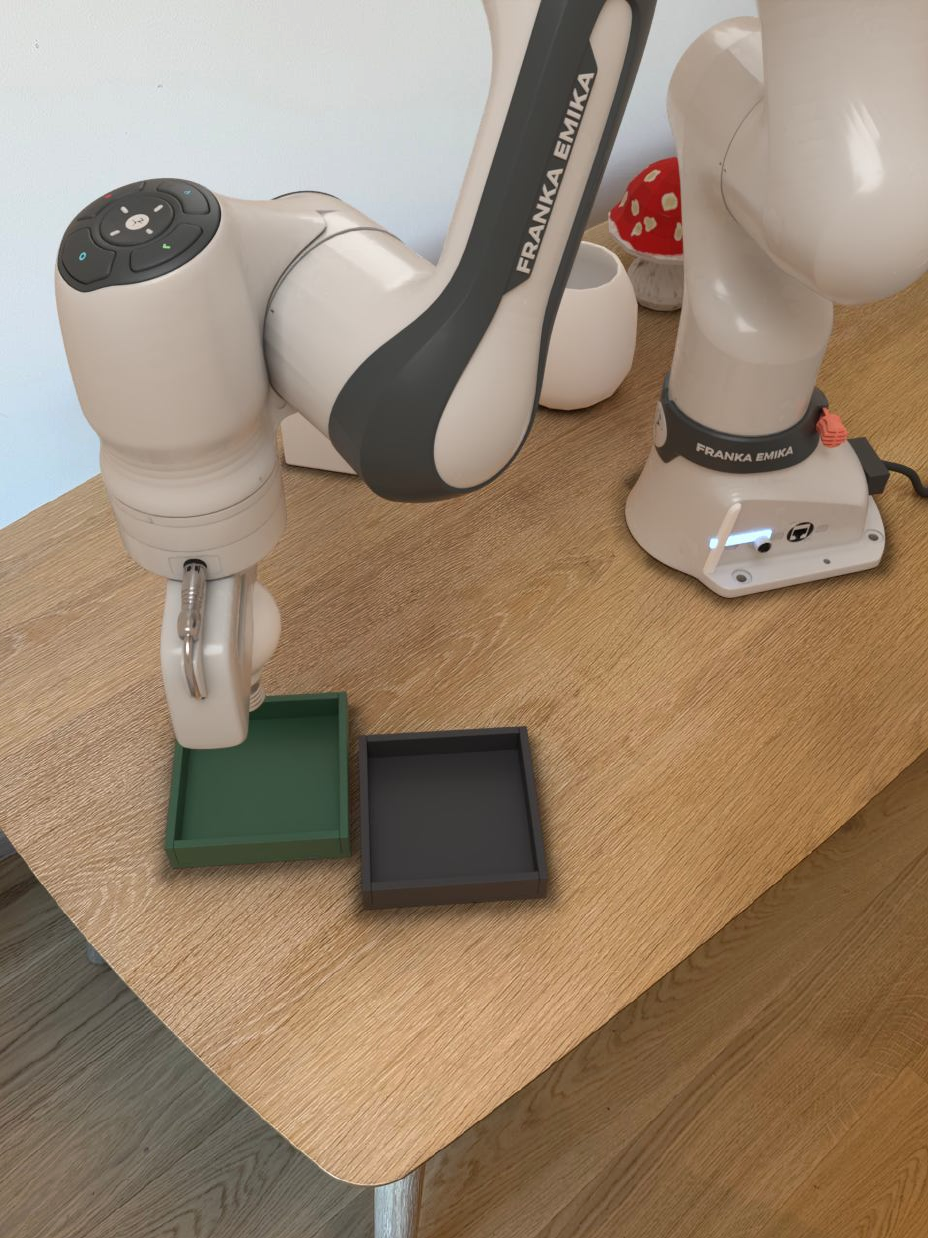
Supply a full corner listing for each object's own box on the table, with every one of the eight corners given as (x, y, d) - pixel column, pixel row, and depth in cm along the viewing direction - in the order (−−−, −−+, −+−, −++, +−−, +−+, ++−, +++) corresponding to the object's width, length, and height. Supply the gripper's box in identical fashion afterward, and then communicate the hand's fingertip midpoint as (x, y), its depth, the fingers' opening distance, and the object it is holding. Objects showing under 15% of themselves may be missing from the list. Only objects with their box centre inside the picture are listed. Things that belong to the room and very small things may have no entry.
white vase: (655, 382, 111) (676, 262, 100) (574, 445, 104) (588, 324, 94) (552, 329, 116) (563, 210, 106) (469, 386, 110) (472, 265, 99)
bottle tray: (524, 747, 82) (526, 725, 80) (545, 898, 74) (548, 878, 72) (360, 756, 81) (358, 735, 79) (364, 910, 73) (361, 891, 71)
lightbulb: (280, 749, 69) (257, 639, 61) (183, 735, 70) (147, 624, 61) (305, 670, 73) (287, 557, 65) (213, 657, 74) (183, 543, 65)
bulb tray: (348, 713, 84) (346, 691, 81) (351, 857, 76) (348, 837, 74) (186, 722, 83) (179, 700, 81) (171, 869, 75) (163, 849, 73)
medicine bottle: (359, 476, 101) (351, 369, 92) (284, 465, 102) (269, 357, 92) (378, 427, 105) (373, 320, 96) (307, 417, 106) (294, 309, 97)
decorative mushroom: (666, 348, 114) (691, 214, 103) (571, 290, 121) (584, 159, 109) (750, 299, 120) (783, 167, 109) (655, 246, 127) (677, 117, 116)
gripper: (251, 650, 51) (283, 804, 62) (267, 378, 64) (291, 544, 75) (114, 657, 51) (169, 811, 61) (158, 382, 64) (197, 548, 75)
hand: (236, 662), depth 68 cm, fingers closed on lightbulb, 5 cm apart
